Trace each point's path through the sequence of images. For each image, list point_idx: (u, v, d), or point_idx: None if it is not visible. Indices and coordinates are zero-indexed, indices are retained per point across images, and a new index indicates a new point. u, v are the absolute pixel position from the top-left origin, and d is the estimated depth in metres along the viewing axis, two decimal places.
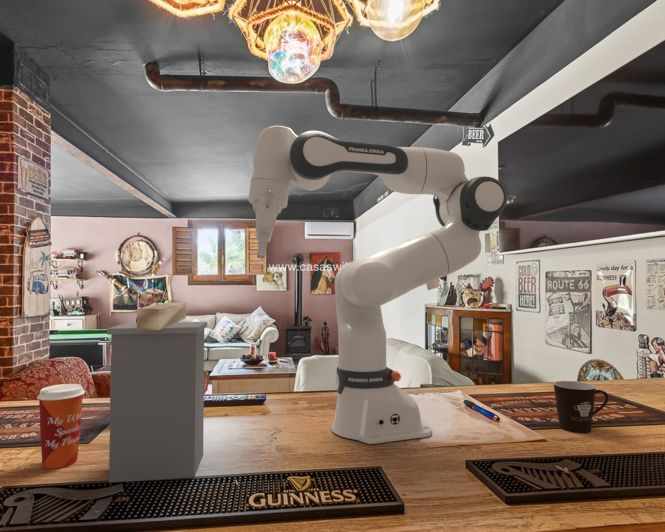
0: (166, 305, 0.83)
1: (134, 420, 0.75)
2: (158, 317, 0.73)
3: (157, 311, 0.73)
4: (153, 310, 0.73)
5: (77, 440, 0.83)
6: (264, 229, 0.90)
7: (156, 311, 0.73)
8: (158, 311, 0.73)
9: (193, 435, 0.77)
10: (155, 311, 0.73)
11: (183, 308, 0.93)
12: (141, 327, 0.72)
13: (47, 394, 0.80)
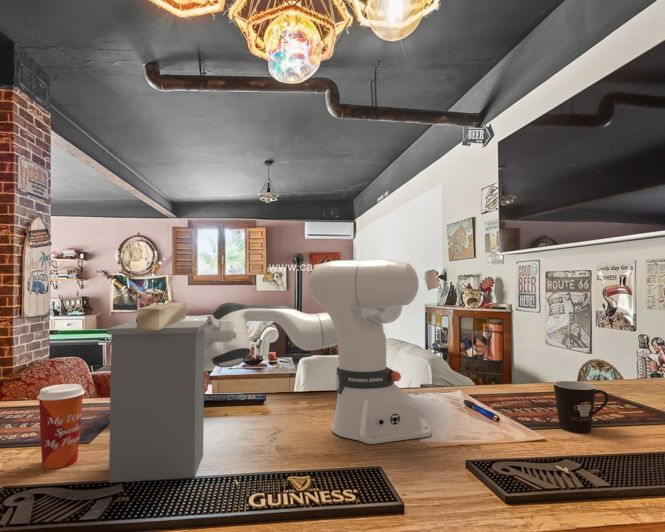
0: (166, 305, 0.83)
1: (134, 420, 0.75)
2: (158, 317, 0.73)
3: (157, 311, 0.73)
4: (153, 310, 0.73)
5: (77, 440, 0.83)
6: (231, 325, 1.15)
7: (156, 311, 0.73)
8: (158, 311, 0.73)
9: (193, 435, 0.77)
10: (155, 311, 0.73)
11: (183, 308, 0.93)
12: (141, 327, 0.72)
13: (47, 394, 0.80)
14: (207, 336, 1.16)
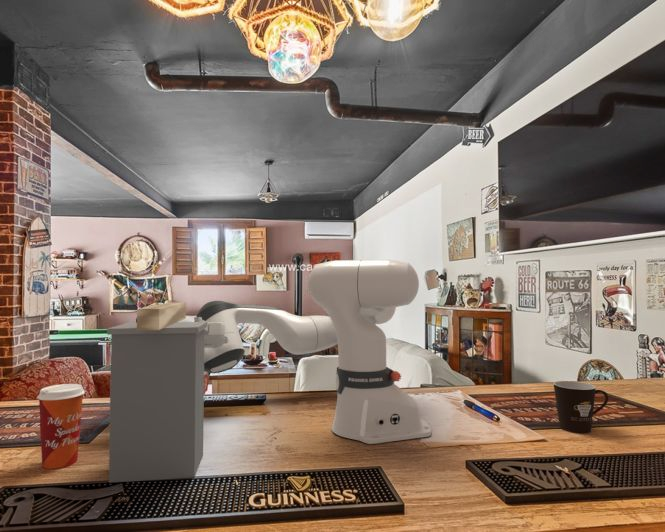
0: (166, 305, 0.83)
1: (134, 420, 0.75)
2: (158, 317, 0.73)
3: (157, 311, 0.73)
4: (153, 310, 0.73)
5: (77, 440, 0.83)
6: (222, 328, 1.01)
7: (156, 311, 0.73)
8: (158, 311, 0.73)
9: (193, 435, 0.77)
10: (155, 311, 0.73)
11: (183, 308, 0.93)
12: (141, 327, 0.72)
13: (47, 394, 0.80)
14: None
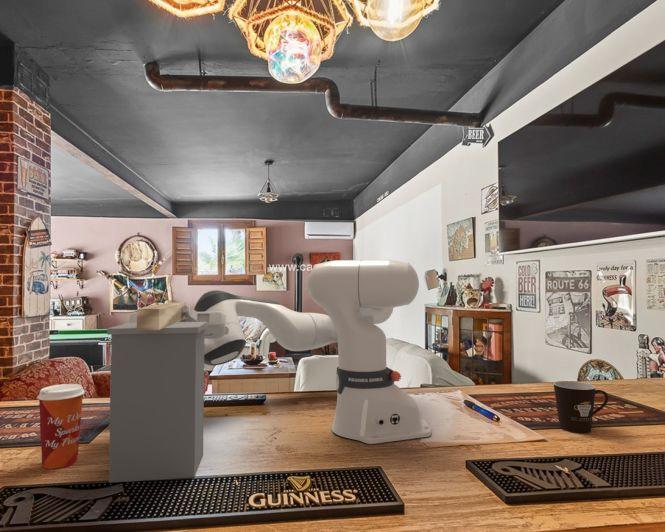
0: (166, 305, 0.83)
1: (134, 420, 0.75)
2: (158, 317, 0.73)
3: (157, 311, 0.73)
4: (153, 310, 0.73)
5: (77, 440, 0.83)
6: (222, 318, 0.96)
7: (156, 311, 0.73)
8: (158, 311, 0.73)
9: (193, 435, 0.77)
10: (155, 311, 0.73)
11: None
12: (141, 326, 0.72)
13: (47, 394, 0.80)
14: None
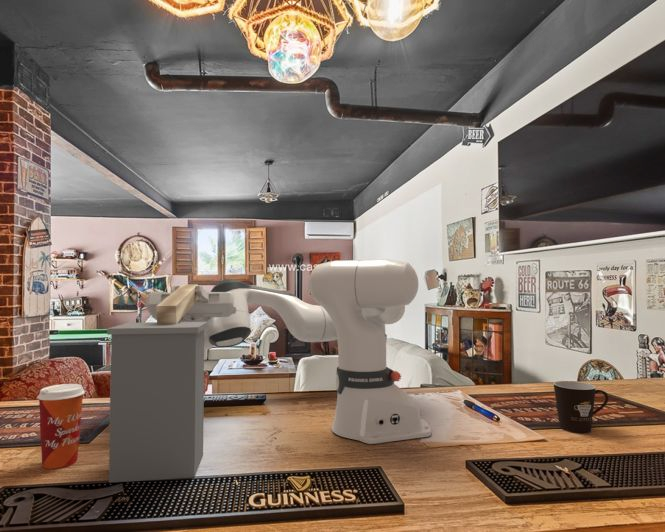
0: (181, 294, 0.92)
1: (134, 420, 0.75)
2: (175, 313, 0.82)
3: (174, 308, 0.82)
4: (170, 307, 0.82)
5: (77, 440, 0.83)
6: (231, 298, 1.06)
7: (173, 308, 0.82)
8: (175, 308, 0.82)
9: (193, 435, 0.77)
10: (172, 308, 0.82)
11: None
12: (161, 321, 0.82)
13: (47, 394, 0.80)
14: (205, 309, 1.07)
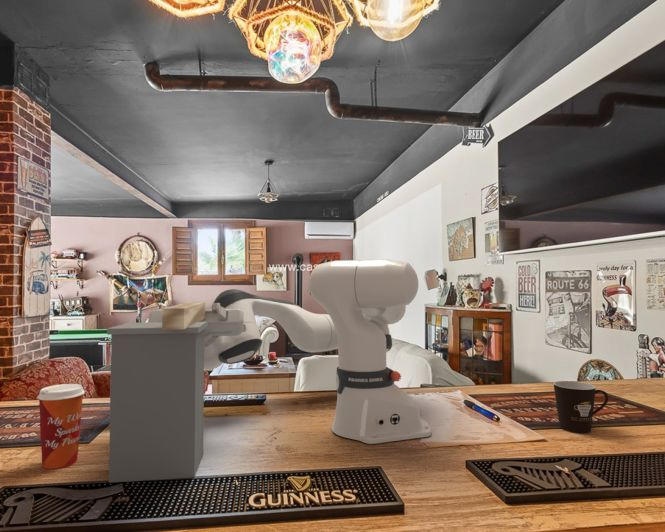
0: None
1: (134, 420, 0.75)
2: (183, 317, 0.74)
3: (182, 311, 0.74)
4: (178, 310, 0.74)
5: (77, 440, 0.83)
6: (241, 315, 0.97)
7: (181, 311, 0.74)
8: (183, 311, 0.74)
9: (193, 435, 0.77)
10: (180, 311, 0.74)
11: (203, 308, 0.94)
12: (167, 326, 0.73)
13: (47, 394, 0.80)
14: (212, 328, 0.97)
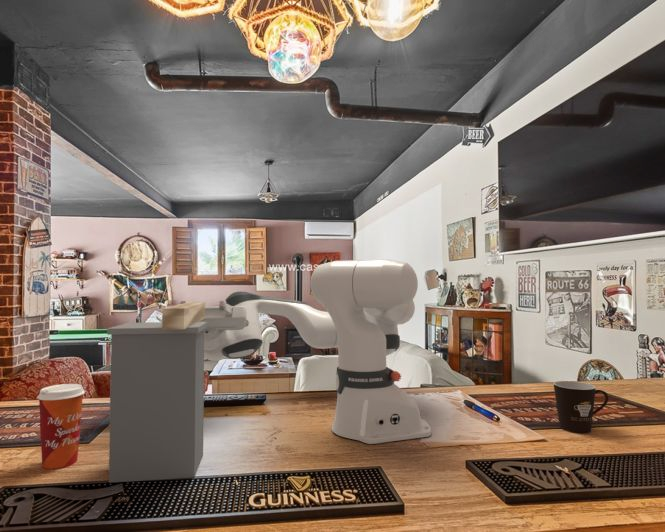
0: None
1: (134, 420, 0.75)
2: (183, 317, 0.74)
3: (182, 311, 0.74)
4: (178, 310, 0.74)
5: (77, 440, 0.83)
6: (244, 312, 1.09)
7: (181, 311, 0.74)
8: (183, 311, 0.74)
9: (193, 435, 0.77)
10: (180, 311, 0.74)
11: (203, 308, 0.94)
12: (167, 326, 0.73)
13: (47, 394, 0.80)
14: (218, 323, 1.10)
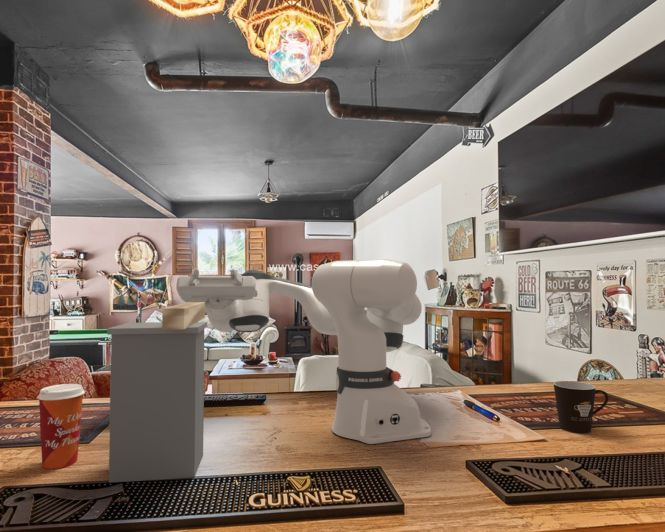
0: None
1: (134, 420, 0.75)
2: (183, 317, 0.74)
3: (182, 311, 0.74)
4: (178, 310, 0.74)
5: (77, 440, 0.83)
6: (253, 281, 1.16)
7: (181, 311, 0.74)
8: (183, 311, 0.74)
9: (193, 435, 0.77)
10: (180, 311, 0.74)
11: (203, 308, 0.94)
12: (167, 326, 0.73)
13: (47, 394, 0.80)
14: (229, 292, 1.16)
